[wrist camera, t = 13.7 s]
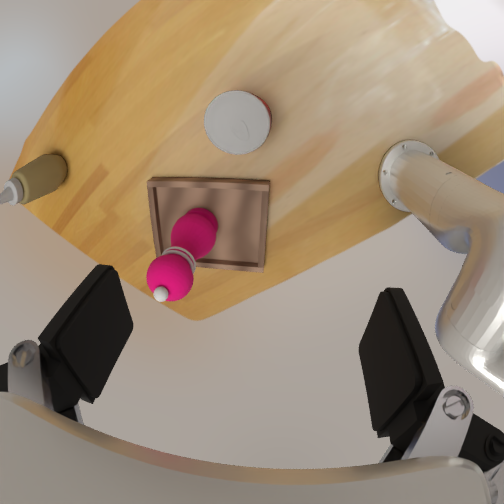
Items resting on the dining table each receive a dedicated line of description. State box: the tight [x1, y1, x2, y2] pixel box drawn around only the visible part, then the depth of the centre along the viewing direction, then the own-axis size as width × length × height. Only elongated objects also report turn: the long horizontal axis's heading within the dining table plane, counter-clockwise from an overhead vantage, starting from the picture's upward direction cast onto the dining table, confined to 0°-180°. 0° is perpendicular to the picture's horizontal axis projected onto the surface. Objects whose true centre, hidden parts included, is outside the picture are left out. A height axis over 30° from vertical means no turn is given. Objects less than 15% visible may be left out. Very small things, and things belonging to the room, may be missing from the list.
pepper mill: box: [147, 208, 218, 302], centre depth 39 cm, size 7×7×20 cm
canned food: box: [204, 90, 272, 155], centre depth 34 cm, size 8×8×11 cm
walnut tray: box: [147, 177, 270, 273], centre depth 47 cm, size 20×16×2 cm
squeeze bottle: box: [0, 154, 67, 205], centre depth 37 cm, size 8×8×18 cm
